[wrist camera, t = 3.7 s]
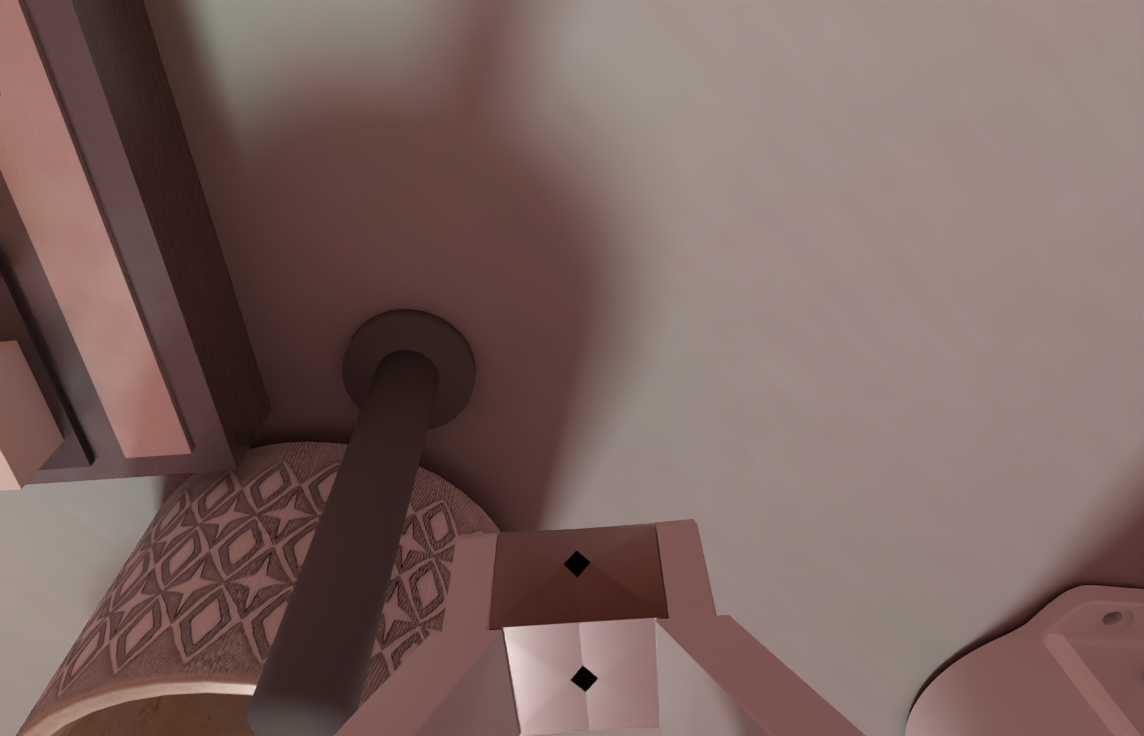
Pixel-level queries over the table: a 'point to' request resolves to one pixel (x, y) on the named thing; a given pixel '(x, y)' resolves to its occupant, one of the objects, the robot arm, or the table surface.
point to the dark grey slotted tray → (114, 253)
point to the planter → (237, 598)
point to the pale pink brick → (22, 421)
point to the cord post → (361, 522)
